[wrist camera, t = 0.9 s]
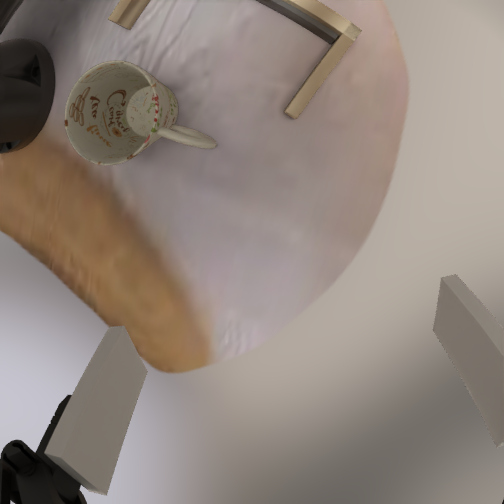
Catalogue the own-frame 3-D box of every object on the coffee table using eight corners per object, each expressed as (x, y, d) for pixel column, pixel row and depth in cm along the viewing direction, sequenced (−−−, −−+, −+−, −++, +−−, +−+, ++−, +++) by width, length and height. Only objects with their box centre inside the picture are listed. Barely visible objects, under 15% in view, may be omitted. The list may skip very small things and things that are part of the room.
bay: (122, 26, 25) (107, 19, 22) (178, -49, 21) (170, -63, 18) (293, 118, 29) (296, 118, 26) (352, 38, 25) (362, 30, 22)
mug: (131, 65, 27) (82, 52, 18) (241, 100, 29) (230, 93, 20) (106, 136, 30) (54, 149, 21) (210, 175, 32) (187, 200, 23)
